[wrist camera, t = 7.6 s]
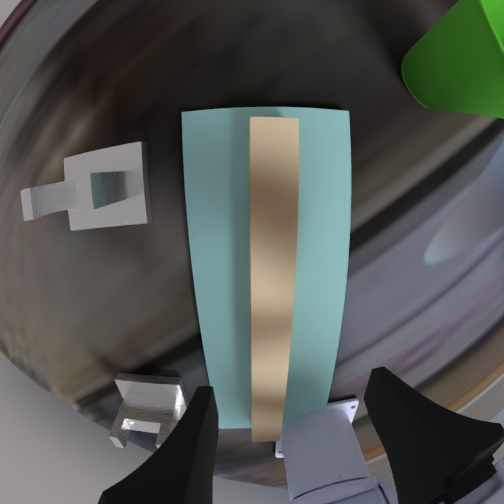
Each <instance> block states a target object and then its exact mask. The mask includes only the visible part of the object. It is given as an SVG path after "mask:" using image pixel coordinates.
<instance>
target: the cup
mask: <svg viewBox="0 0 504 504" xmlns="http://www.w3.org/2000/svg"><path fill="white" fill-rule="evenodd" d="M401 72H402V76H403V80H404V82H405V85H406V87H407V89H408V90H409V92H410V93H411V95H412V96H413V97H414V98H415V99H416V100H417V101H418V102H419V103H420V104H421V105H423V106H425V107H426V108H429V109H431V110H434V111H442V112H456V113H467V114H476V115H484V116H491V117H498V118H504V0H459V1H458V2H457V3H456V4H455V5H454V6H453V7H452V8H451V9H450V10H449V11H448V12H447V13H446V14H445V15H444V16H443V17H442V18H441V19H440V20H439V21H438V22H437V23H436V24H435V25H434V26H433V27H432V28H431V29H430V30H429V31H428V32H427V33H426V34H425V35H424V36H423V37H422V38H421V39H420V40H419V41H418V42H417V43H416V44H415V45H414V46H413V47H412V48H411V49H410V50H409V51H408V52H407V53H406V54H405V56H404V58H403V61H402V65H401Z"/></svg>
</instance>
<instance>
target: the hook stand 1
mask: <svg viewBox="0 0 504 504" xmlns="http://www.w3.org/2000/svg"><path fill="white" fill-rule="evenodd" d="M64 173H65V181H63V182H58V183H54V184H48V185H42V186H36V187H31V188H27V189H24V190H21V199H22V208H23V216H24V221H27V220H33V219H36V218H39V217H42V216H45V215H48V214H51V213H54V212H57V211H63V210H68V214H69V222H70V228H71V231H73V230H82V229H92V228H101V227H112V226H122V225H133V224H145V223H149V222H150V221H152V213H151V203H150V191H149V178H148V161H147V143H145V142H142V141H141V142H135V143H129V144H124V145H119V146H114V147H109V148H104V149H100V150H95V151H91V152H87V153H83V154H79V155H75V156H71V157H67V158H64Z"/></svg>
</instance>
